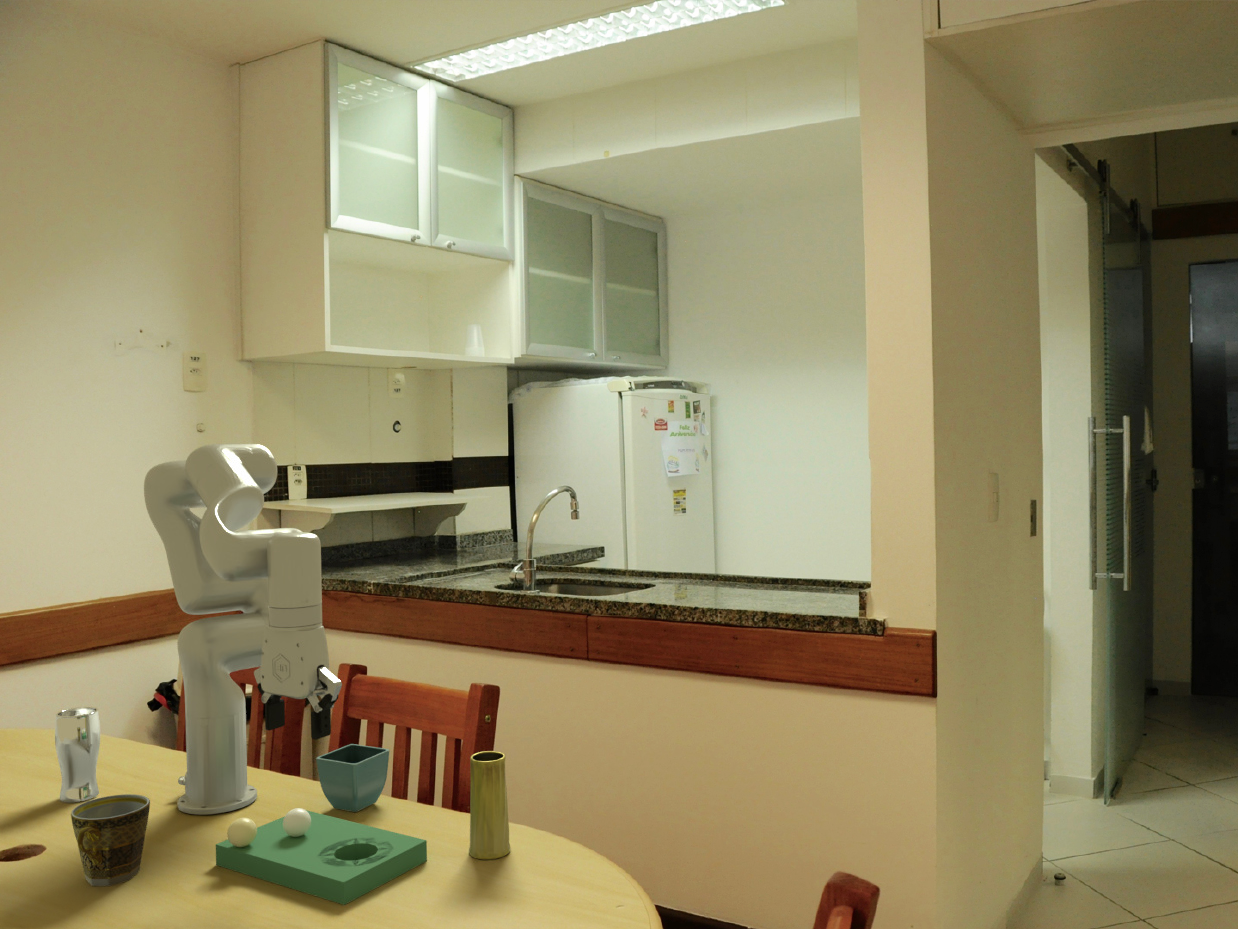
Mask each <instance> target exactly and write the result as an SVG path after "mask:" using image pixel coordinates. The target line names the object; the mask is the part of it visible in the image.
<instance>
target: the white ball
mask: <svg viewBox="0 0 1238 929" xmlns="http://www.w3.org/2000/svg"><path fill="white" fill-rule="evenodd" d="M306 810H307V809H305V808H301V807H298V808H297V807H295V808H293V809H291V810H289V811H288V812H287V813H286V814H285V817H284V816H283V817H284V820H283V828H284V831H285V832H286V833H287V834H288V835H290V836H292V837H299V836H302V835H304V834H305V833H306V832H307V831H308V830H309V828H310V825H311V817H310V814H309V813H308V812H307V811H308V810H307V811H306Z"/></svg>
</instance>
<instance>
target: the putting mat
mask: <svg viewBox="0 0 1238 929" xmlns="http://www.w3.org/2000/svg"><path fill="white" fill-rule="evenodd" d="M305 810H306V811H307V812H308V813H309V814H310V817H311V825H310V828H309V830H308V831H307V832H306V833H305V834H304V835H302V836H299V837H292V836H290V835H288V834H287V833H286V832H285V831H284V828H283V820H284V817H285V816H282V817H280V818H278V819H275V820H272V821H269V822H268V823H265V824H263V825H262V824H261V825H260V826H256V827H257V834H256V837H255V839H254V840H253V842H252V843H251V844H249V845H247V846H245V847H236V846H234V845H232V844H231V843H230V841H229V840H228V839H226V840H222V841H221V842H218V843H216V844H215V866H218V867H221V868H225V869H228V870H232V871H234V872H238V873H241V874H245V875H247V876H250V877H254V878H255V879H256V878H257V879H260V880H263V881H266V882H269V883H273V884H276V885H278V886H283V887H285V888H289V889H291V890H292V889H293V890H296V891H299V892H301V893H305V894H308V895H312V896H315V897H318V898H320V899H324V900H327V901H330V902H334V903H337V904H340V905H343V906H345V905H347V904H349V903H350V902H352V901H354V900H356V899H359V898H360V897H363V895H365V894H367V893H370V892H371V891H373V890H375V889H377V888H378V887H381V886H382V885H384V884H386V883H388V882H390V881H392V880H394V879H395V878H398V877H399V876H401V875H403V874H405V873H407V872H409V871H410V870H413V869H414V868H416V867H417V866H421V865H422V864H423V863H425V862H428V853H427V852H428V851H427V849H428V847H427V843H428V841H427V840H426V839H423V838H420V837H414V836H411V835H406V834H402V833H398V832H396V831H390V830H388V829H387V830H386V829H383V828H379V827H375V826H371V825H367V824H363V823H358V822H355V821H350V820H347V819H344V818H343V819H342V818H339V817H335V816H331V815H326V814H323V813H319V812H315V811H311V810H308V809H305Z"/></svg>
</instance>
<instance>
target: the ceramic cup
mask: <svg viewBox="0 0 1238 929" xmlns="http://www.w3.org/2000/svg"><path fill="white" fill-rule="evenodd" d="M150 805H151V800H150V798H149V797H147V796H146V795H145V796H144V795H140V794H133V793H132V794H130V793H128V794H127V793H126V794H115V795H114V794H113V795H109V796H101V797H99V798H93V799H90V800H87V801H84V802H83V803H81V804H79V805H77V806H76V807H74V808H73V809H72V810H71V813H70V818H71V823H72V828H73V832H74V836H75V839H76V843H77V847H78V852H79V855H80V861H81V865H82V869H83V874H84V878H85V880H86V882H88V884H89V885H91V886H92V887H111V886H115V885H117V884H121V883H125V882H127V881H130V880H132V879H133V877H135V876H136V875H137V874H138V873H139V871H140V869H141V865H142V857H143V850H144V845H145V844H144V843H145V836H146V831H147V828H148V823H149V816H150V815H149V814H150V808H151V806H150Z"/></svg>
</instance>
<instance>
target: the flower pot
mask: <svg viewBox="0 0 1238 929" xmlns="http://www.w3.org/2000/svg"><path fill="white" fill-rule="evenodd" d="M389 759H390V749H389V748H382V747H376V746H370V745H369V746H368V745H362V744H357V743H356V744H354V743H350V744H347V745H344V746H342V747H340V748H337V749H335V750H332V751H330V752H327V753H324V754H322V755H319V756H317V757H315V760H316V766H317V772H318V777H319V783H320V787H321V790H322V792H323V794H324V797H325V798H326V800H327V801H328V802H329V804H330V805H331V806H332V807H333V808H334V809H336V810H343V811H347V812H353V813H357V812H359V811H361V810H363V809H365V808H368V807H370V806H371V805H373V804H375V803H376V802H377V801H379V798H380V796H381V794H382V792H383V790H384V788H385V784H386V781H387V777H388V770H389V769H388V768H389Z"/></svg>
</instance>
